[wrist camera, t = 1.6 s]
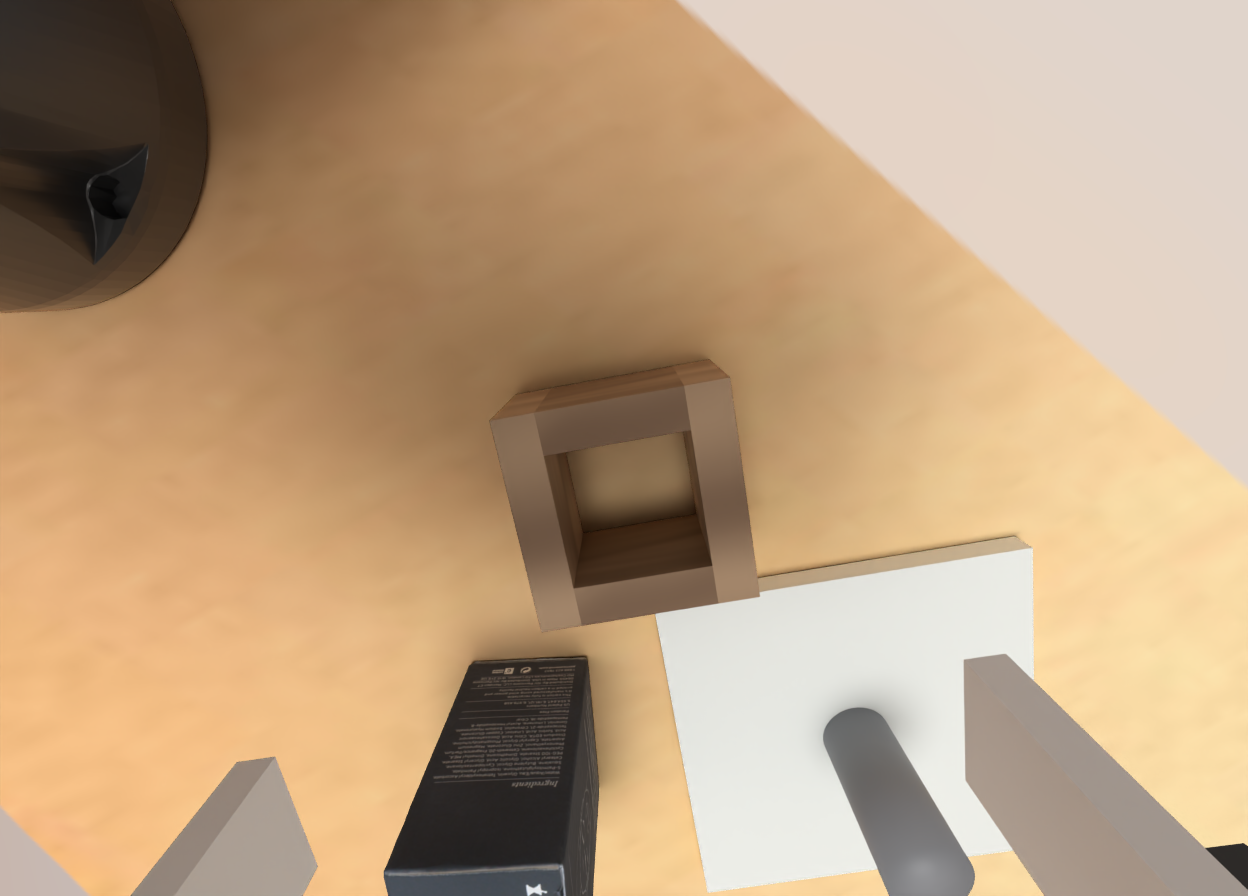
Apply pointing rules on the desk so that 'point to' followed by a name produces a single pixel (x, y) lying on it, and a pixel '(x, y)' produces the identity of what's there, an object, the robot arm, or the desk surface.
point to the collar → (636, 554)
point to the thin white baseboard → (845, 717)
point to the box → (507, 789)
